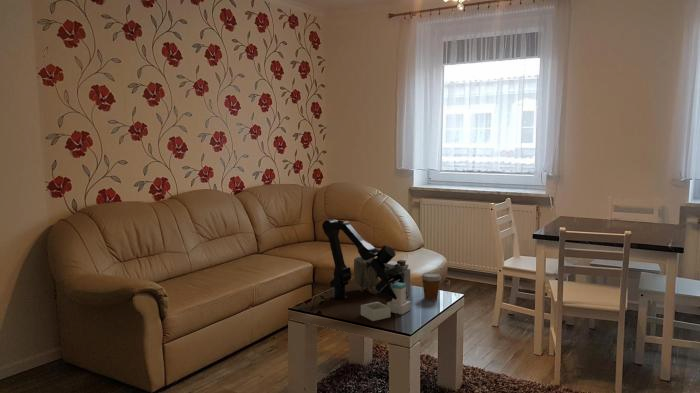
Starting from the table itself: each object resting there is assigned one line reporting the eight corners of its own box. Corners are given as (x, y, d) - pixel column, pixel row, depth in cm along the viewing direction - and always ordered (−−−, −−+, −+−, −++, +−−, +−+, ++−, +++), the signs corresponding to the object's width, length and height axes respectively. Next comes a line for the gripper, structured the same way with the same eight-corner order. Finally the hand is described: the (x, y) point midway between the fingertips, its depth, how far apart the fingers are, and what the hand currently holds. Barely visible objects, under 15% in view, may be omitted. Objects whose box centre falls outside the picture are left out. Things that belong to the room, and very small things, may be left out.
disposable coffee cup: (439, 302, 246) (439, 277, 244) (419, 300, 249) (419, 276, 247) (441, 296, 254) (442, 273, 253) (423, 294, 258) (423, 271, 256)
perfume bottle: (409, 295, 257) (410, 260, 255) (403, 298, 251) (404, 262, 249) (398, 293, 260) (398, 258, 258) (391, 296, 255) (392, 261, 253)
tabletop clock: (378, 294, 257) (378, 246, 254) (360, 296, 255) (361, 247, 252) (369, 287, 271) (369, 240, 268) (353, 288, 269) (353, 241, 266)
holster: (386, 311, 232) (387, 302, 232) (395, 306, 239) (395, 298, 238) (402, 314, 228) (402, 305, 227) (410, 309, 234) (410, 301, 234)
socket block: (360, 314, 227) (360, 305, 227) (378, 311, 232) (378, 301, 232) (372, 321, 219) (372, 311, 219) (390, 317, 224) (390, 307, 224)
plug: (392, 310, 233) (392, 284, 231) (397, 308, 236) (397, 282, 235) (400, 312, 230) (401, 286, 229) (405, 310, 234) (406, 283, 232)
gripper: (380, 262, 225) (402, 291, 220) (401, 255, 241) (422, 281, 235) (366, 277, 231) (386, 305, 226) (387, 269, 246) (407, 295, 241)
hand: (401, 296), depth 232 cm, fingers open, 9 cm apart
